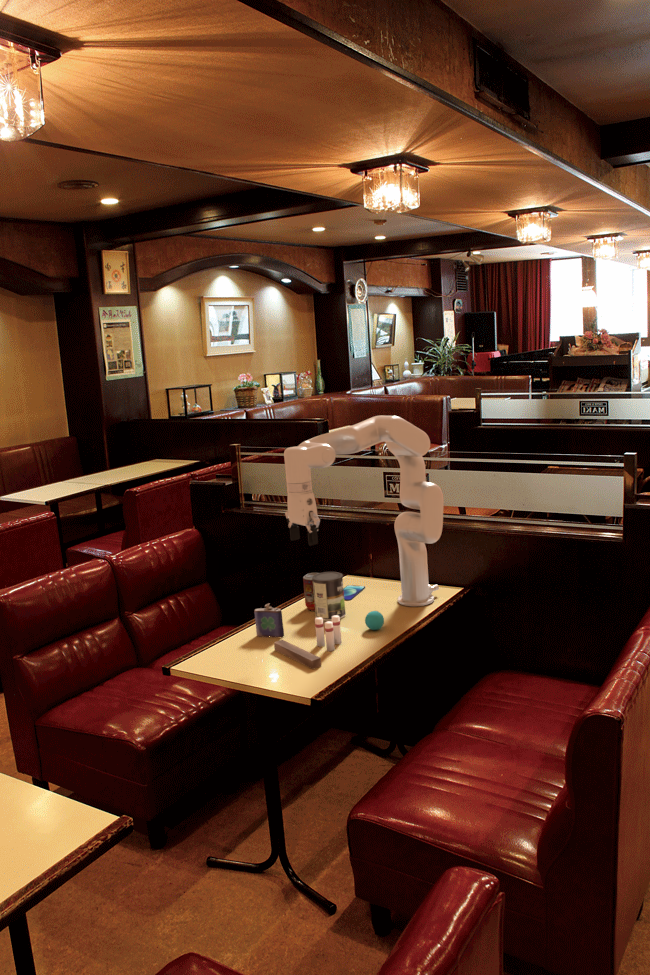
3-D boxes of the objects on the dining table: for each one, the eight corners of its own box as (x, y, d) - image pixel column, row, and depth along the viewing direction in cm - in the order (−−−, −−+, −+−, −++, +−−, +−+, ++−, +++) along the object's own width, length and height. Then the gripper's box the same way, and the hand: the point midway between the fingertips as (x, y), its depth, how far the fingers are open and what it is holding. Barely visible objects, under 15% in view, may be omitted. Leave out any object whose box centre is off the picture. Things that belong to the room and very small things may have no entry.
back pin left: (331, 647, 225) (329, 620, 224) (336, 649, 223) (334, 622, 222) (325, 649, 224) (322, 622, 222) (329, 652, 222) (327, 624, 220)
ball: (376, 624, 241) (375, 606, 240) (388, 629, 236) (387, 611, 235) (361, 629, 237) (360, 611, 236) (374, 634, 233) (372, 616, 232)
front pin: (338, 640, 230) (336, 614, 228) (343, 643, 228) (341, 616, 226) (331, 643, 228) (329, 616, 227) (336, 645, 226) (334, 618, 225)
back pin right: (321, 643, 229) (319, 616, 228) (326, 645, 227) (324, 618, 226) (315, 645, 228) (313, 618, 226) (320, 647, 226) (317, 620, 224)
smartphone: (331, 598, 269) (347, 585, 283) (331, 600, 270) (347, 587, 283) (350, 599, 266) (366, 586, 280) (351, 602, 266) (366, 588, 280)
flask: (255, 637, 239) (252, 605, 237) (259, 633, 242) (255, 602, 240) (282, 638, 236) (279, 605, 234) (285, 634, 239) (282, 602, 237)
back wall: (282, 647, 228) (282, 639, 228) (321, 666, 212) (320, 657, 212) (274, 650, 227) (273, 642, 226) (312, 669, 211) (312, 660, 210)
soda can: (302, 611, 259) (299, 577, 257) (311, 604, 266) (308, 571, 264) (320, 612, 256) (317, 578, 254) (329, 605, 263) (326, 572, 261)
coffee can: (348, 610, 256) (345, 571, 254) (342, 621, 246) (339, 580, 244) (318, 610, 258) (315, 571, 256) (312, 621, 249) (309, 580, 246)
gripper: (326, 488, 221) (330, 544, 224) (293, 482, 235) (298, 535, 238) (305, 492, 217) (310, 549, 220) (273, 486, 231) (278, 540, 234)
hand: (304, 542), depth 229 cm, fingers open, 9 cm apart
